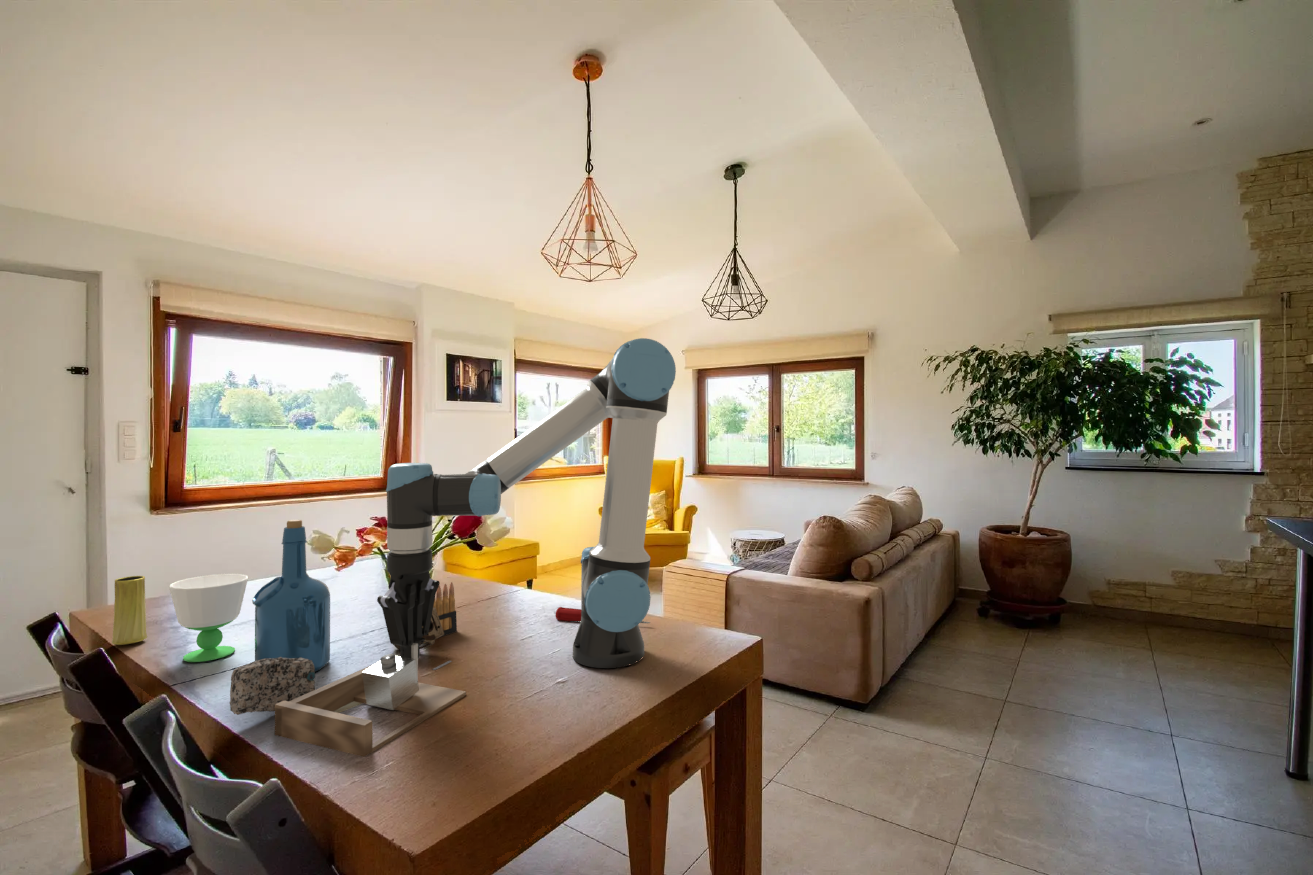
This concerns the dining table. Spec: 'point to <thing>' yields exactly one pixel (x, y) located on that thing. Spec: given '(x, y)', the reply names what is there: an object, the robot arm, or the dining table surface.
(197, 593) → the cup
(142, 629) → the vase
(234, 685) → the rock
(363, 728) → the wooden shallow box
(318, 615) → the wine bottle
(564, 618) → the screwdriver
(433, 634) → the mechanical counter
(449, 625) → the ammunition clip
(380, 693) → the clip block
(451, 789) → the dining table surface
